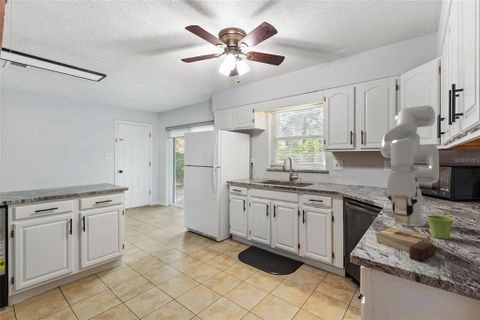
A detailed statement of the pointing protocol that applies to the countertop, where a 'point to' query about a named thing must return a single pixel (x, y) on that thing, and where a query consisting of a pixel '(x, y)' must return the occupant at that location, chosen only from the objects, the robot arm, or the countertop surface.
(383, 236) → the seat board
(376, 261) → the countertop surface
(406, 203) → the peg
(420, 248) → the brick
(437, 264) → the countertop surface
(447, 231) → the plant pot
